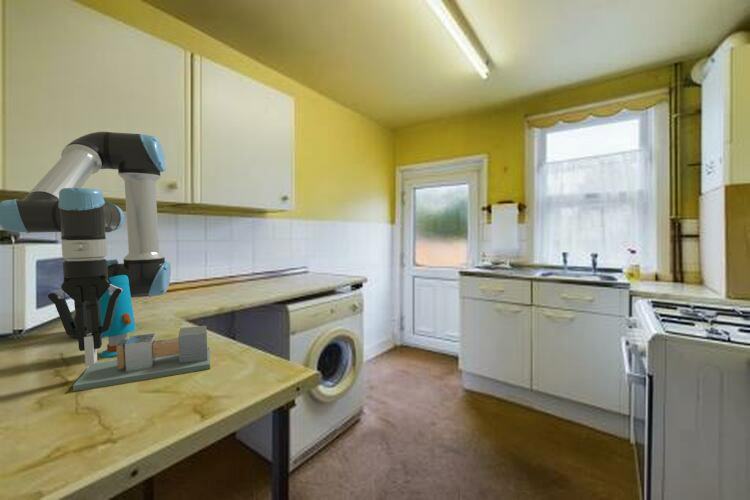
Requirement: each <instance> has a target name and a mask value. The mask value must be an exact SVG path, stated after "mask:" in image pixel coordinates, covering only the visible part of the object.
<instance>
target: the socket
mask: <svg viewBox="0 0 750 500" xmlns="http://www.w3.org/2000/svg"><path fill="white" fill-rule="evenodd" d="M207 330H208V329H207V325H199V326H198V325H197V326H190V327H182V328H179V333H178V336H177V338H178V343H179V365H181V364H188V363H194V362H200V361H207V348H208V335H207V334H208V333H207Z"/></svg>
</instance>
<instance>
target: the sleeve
mask: <svg viewBox="0 0 750 500" xmlns="http://www.w3.org/2000/svg"><path fill="white" fill-rule="evenodd" d="M127 339H128V341H127V342H126V343H125V359H126V372H131V371H138V370H144V369H151V368H153V365H154V363H155V360H156V358H153V354H152V343H153V341H156V334H155V333H148V334H146V333H145V334H140V335H139V334H138V335H131V336H130V337H129V338H127Z"/></svg>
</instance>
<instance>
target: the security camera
mask: <svg viewBox="0 0 750 500" xmlns="http://www.w3.org/2000/svg"><path fill="white" fill-rule="evenodd" d="M109 280H110V281H111V284H112V285H114V286H116V287H118V288H119V287H122V288H123V291H122V293H121V294H120V295H119V297H118V300H117V304H116V308H115V312H114V317H113V321H112V325H111V327H110V329H109V330H108V331H105V332H102V333H101V336H102V337H104V338H108V339H107V341H108V343H107V345H106V350H103V351H101V353H100V356H101V357H102V358H117V347H116V346H117V345H118V344H119V342H120V341H121V340H124V339H128V333H131V332H134V331H136V330H137V327H136V322H135V315H134V310H133V303H132V302H133V301H132V298H131V295H130V286H129V280H128V276H127V275H119V276H114V277H110V278H109ZM110 297H111V295H109V289H108V290H107V291H106V292H105V293H104V295H103V296H102V297H101V298H100V310H101V326H103V323H104V319H105V315H106V311H107V307H108V303H109V299H110Z"/></svg>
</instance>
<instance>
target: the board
mask: <svg viewBox="0 0 750 500" xmlns="http://www.w3.org/2000/svg"><path fill="white" fill-rule="evenodd" d="M210 355H211V353H210V347H208V346H207V361H200V362H194V363H188V364H181V365H179V355H172V356H165V357H158V358H156V360H155V363H154V365H153V368H151V369H144V370H138V371H131V372H126V366H125V368H122V369H118V366H117V359H116V360H112V361H110V360H109V361H103V362H102V361H101V362H96V363H95V364H94V365H90V366H88V368H87V369H86V370H85V371H84V372H83V373H82V375H81V376H79V378H78V379H77V381H75V383H73V385H72V391H73V392H78V391H84V390H90V389H97V388H103V387H107V386H108V387H109V386H113V385H121V384H126V383H127V384H128V383H133V382H139V381H144V380H150V379H156V378H163V377H169V376H174V375H181V374H186V373H192V372H198V371H203V370H204V371H205V370H210V369H211V357H210Z"/></svg>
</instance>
